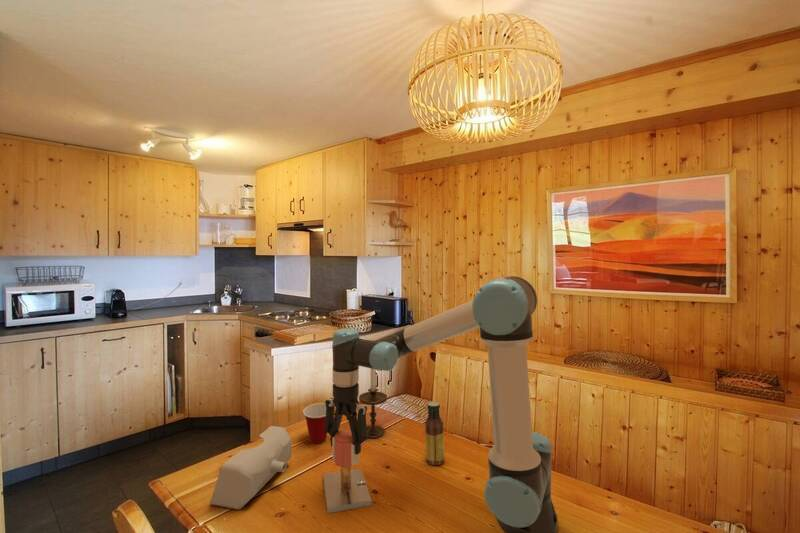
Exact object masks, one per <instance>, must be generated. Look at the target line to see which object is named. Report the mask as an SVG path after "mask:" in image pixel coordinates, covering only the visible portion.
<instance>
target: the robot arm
mask: <svg viewBox="0 0 800 533" xmlns="http://www.w3.org/2000/svg"><path fill="white" fill-rule="evenodd" d="M537 305H538V295H537V293H536V289H535V288H534V286H533V285H532V284H531V283H530V282H529V281H527V280H526V279H524V278H522V277H519V276H515V275H514V276H513V275H511V276H505V277H501V278H494V279H491V280H489V281H488V282H486V283H485V284H483V285H482V286H481V287H479V288H478V290H477V291H476V292H475V295H474V297H473V299H472V300H470V301H467V302H466V303H461V304H460V305H458V306H455V307H453V308H451V309H448V310H446V311H443V312H441V313H439V314H436V315H434V316H431V317H428V318H427V319H424V320H422V321H419V322H417V323H414V324H412V325H410V326H407V327H406V328H402V329H400V330H397V331H395V332H393V333H390V334H388V335H385V336H383V337H380V338H377V339H374V340H371V339H363V338H360V332H359V330H357V329H354V328H341V329H337V330H335V331H334V332H333V335H332V346H331V347H332V348H331V349H332V383H333V384H332V397H330V398H328V399H326V400H325V402H324V403H325V404H326V422H325V432H326V433H327V434H329V436H330V446H331V447H332V449H331V450H332V451H331V452H332V454H331V456H332V460H334V461H335V434H336V432H338V431H340V427H341V423H342V420H343V416H344V417H345V418H346V421H348V424H349V429H350V430H351V433H352V437H353V441H354V442H353V443H351V467H354V466H356V465H357V464H358V463H360V460H359V459H360V454H361V451H362V444H363V443H364V442H365V441H367V439H368V438H367V416H366V415H367V411H368V406H366V405H365V406H362V405H360V401H359V396H360V394H359V391H360V390H359V388H360V386H359V385H360V384H359V379H360V378H359V374H360V373H359V369H360V367H362V368H363V367H364V368H368V369H371V368H372V369H375V371H385V372H390V371H392V370H393V369H394V368H395V366H396V365H397V362H398V359H400V358H403V357H404V356H408V355H410V354H413V353H414V352H417V351H420V350H422V349H425V348H428V347H431V346H433V345H436V344H439V343H441V342H444V341H447V340H450V339H452V338H455V337H457V336H461V335H464V334H466V333H468V332H470V331H473V330H477V329H479V335H480V336H479V337H480V339H481V341H483V343H485V344H486V346H487V355H488V372H489V374H488V375H489V386H490V388H489V390H490V403H491V404H490V405H491V417H492V431H493V433H492V436H493V446H492V447H491V448H490V449H489V451H488V453H487V460H488V472H489V473H488V475H489V476H488V477H489V478H488V480H487V482H486V484H485V487H484V500H485V503H486V505H487V507H488V510H489V511H490V512H491V513H492V514H493V515H494V516H495V517H496V519H497V522H498V524H499V526H501V528H502V529H503V530H504V531H505V532H506V533H558V527H559V525H558V524H559V523H558V522H559V520H558V515H557V512H556V510H555V506H554V503H553V500H552V496H551V495H552V486H551V485H552V454H553V449H552V442H551V440H550V439H549V438H548V437H547V436H545V435H543V434H542V433H539V432H536V431H533V428H532V416H531V415H532V414H531V397H530V383H529V382H530V381H529V367H528V354H527V352H528V351H527V345H528V343H529V342H530V341H531V340H532V339H533V338H534V336H533V333H534V332H533V321H532V320H533V318H532V315H533V314H534V312H535V311H536V310H537Z"/></svg>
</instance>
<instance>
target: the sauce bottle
mask: <svg viewBox="0 0 800 533" xmlns="http://www.w3.org/2000/svg"><path fill="white" fill-rule="evenodd" d="M440 406H441V404H440V402H438V401H429V402H427V410H428V413H427V415H428V416H427V418H426V420H425V423H424V426H425V429H424V430H425V431H424V433H425V434H424V435H425V437H424V438H425V458H426V461H427V463H428V464H429V465H432V466H441V465H443V464H444V463H445V435H444V434H445V433H444V432H445V431H444V422H443V420H442V418H441V416H440V415H441V414H440Z"/></svg>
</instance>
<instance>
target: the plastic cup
mask: <svg viewBox="0 0 800 533" xmlns="http://www.w3.org/2000/svg"><path fill="white" fill-rule="evenodd" d="M302 414H303V416H304V417H305V421H306V427H307V432H308V437H309V441H310V443H312V444H314V445H317V444H318V445H319V444H322V443H325V441H326V439H327V436H328V433H326V432H325V422H326V404H325V402H323V403H322V402H317V403H312V404H310V405H308V406H306V407H305V408H303V411H302Z"/></svg>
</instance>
